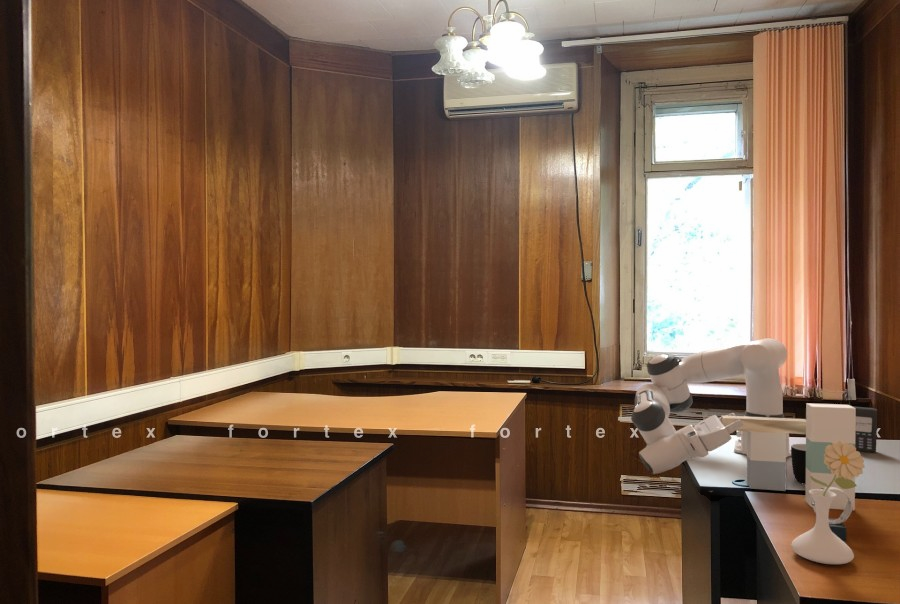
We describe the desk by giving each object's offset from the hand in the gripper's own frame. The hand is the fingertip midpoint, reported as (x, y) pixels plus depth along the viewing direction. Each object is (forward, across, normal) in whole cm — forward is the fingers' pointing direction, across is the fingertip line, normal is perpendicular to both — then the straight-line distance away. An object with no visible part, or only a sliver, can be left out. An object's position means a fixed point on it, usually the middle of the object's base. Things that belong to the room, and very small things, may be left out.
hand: (738, 418), depth 184 cm
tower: (+8, +13, -26) cm, 30 cm away
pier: (-3, 0, -20) cm, 20 cm away
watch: (+2, +36, -24) cm, 43 cm away
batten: (+4, 0, -6) cm, 7 cm away
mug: (+7, -10, -27) cm, 29 cm away
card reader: (+32, -52, -41) cm, 73 cm away
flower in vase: (-2, +50, -21) cm, 54 cm away
